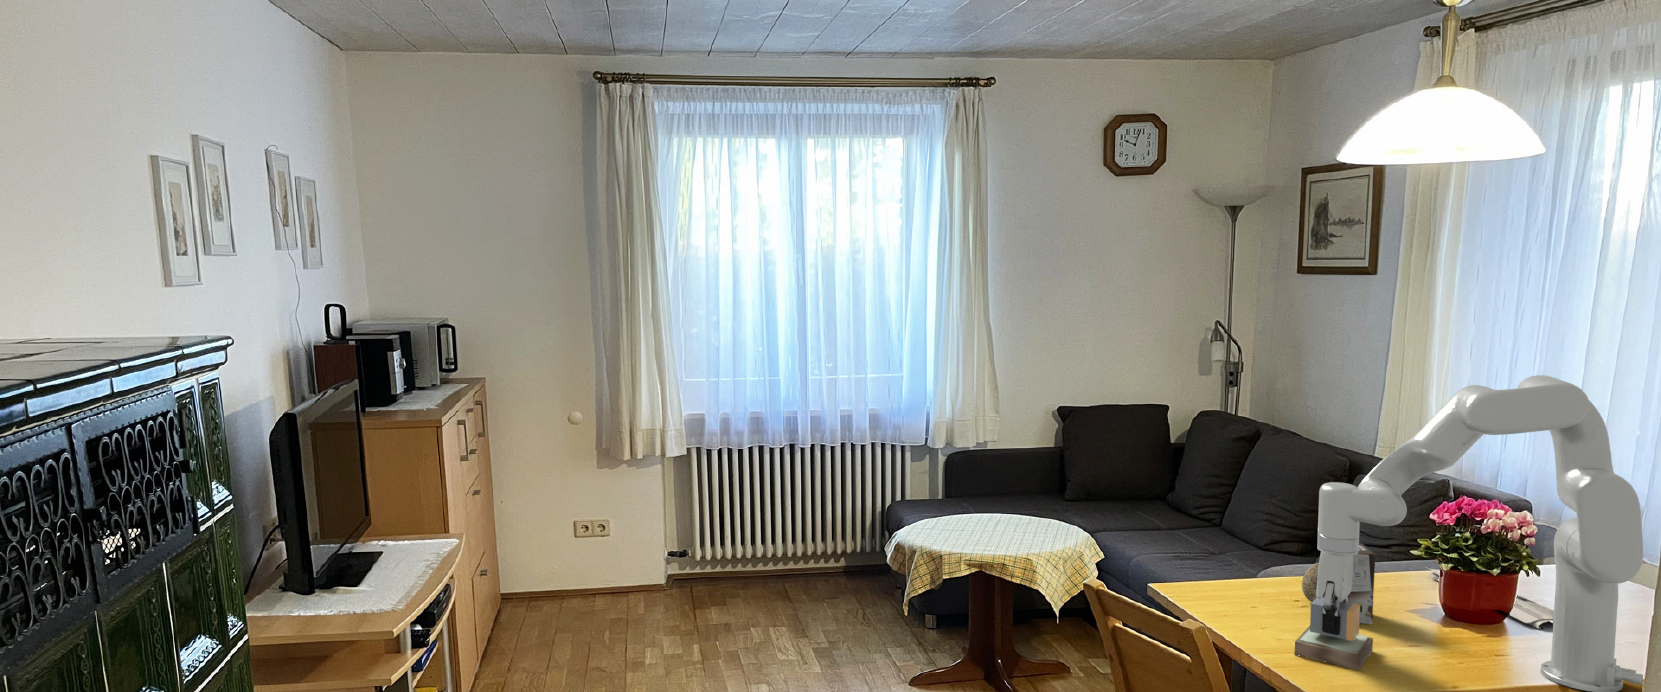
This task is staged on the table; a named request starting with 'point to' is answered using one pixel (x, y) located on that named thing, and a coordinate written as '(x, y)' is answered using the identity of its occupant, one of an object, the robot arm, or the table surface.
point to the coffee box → (1363, 583)
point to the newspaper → (1522, 609)
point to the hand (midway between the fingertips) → (1334, 627)
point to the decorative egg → (1310, 582)
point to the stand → (1334, 649)
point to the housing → (1347, 619)
